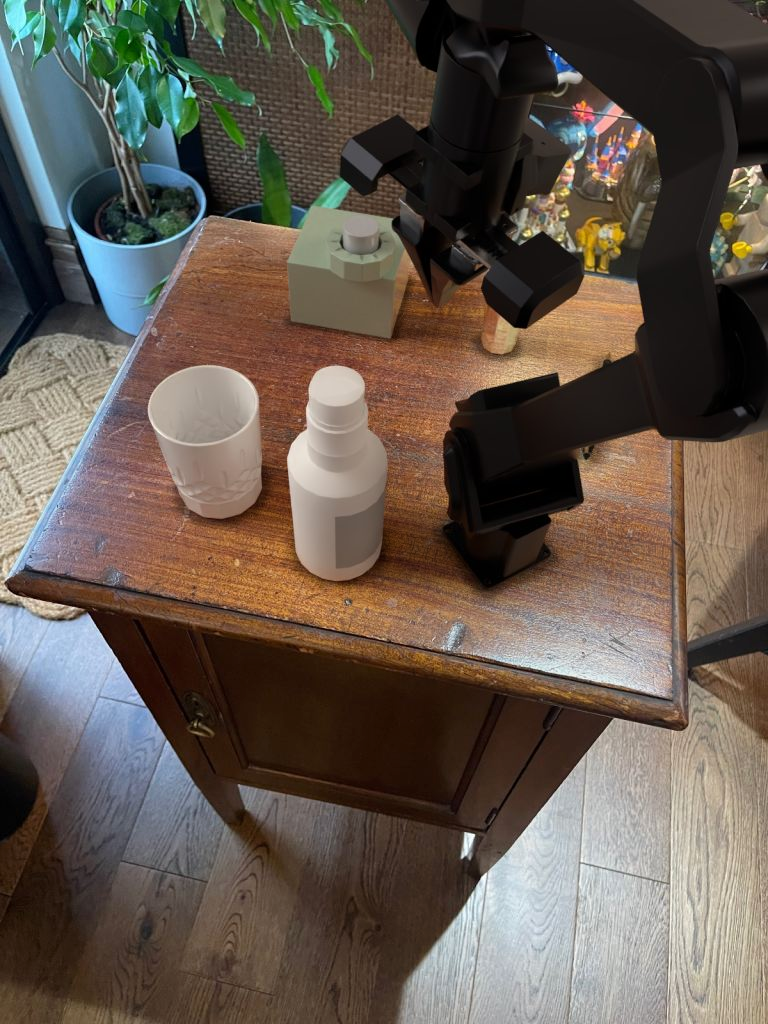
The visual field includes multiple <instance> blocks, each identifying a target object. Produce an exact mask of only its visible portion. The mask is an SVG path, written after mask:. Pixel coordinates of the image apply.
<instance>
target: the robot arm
mask: <svg viewBox="0 0 768 1024" xmlns="http://www.w3.org/2000/svg"><path fill="white" fill-rule="evenodd" d="M385 3H386V5H387V8H388V9H389V10H390V12H391V15H392V16H393V17H394V19H395V21H396V23H397V24H398V26H399V28H400V30H401V32H402V34H403V35H404V37H405V39H406V41H407V43H408V45H409V46H410V48H411V50H412V51H413V53H414V55H415V57H416V59H417V61H418V62H419V64H420V66H422V67H424V68H426V69H427V70H428V71H431V72H433V73H436V77H435V84H434V90H433V96H432V104H431V108H430V109H431V110H430V115H429V116H430V117H429V123H428V125H427V126H425V127H423V128H421V129H419V130H418V129H417V128H416V127H414V125H412V124H410V122H408V121H407V120H405V118H403V117H402V116H400V115H399V114H396V115H393V116H391V117H389V118H387V119H386V120H383V121H381V122H379V123H378V124H375V125H373V126H371V127H370V128H368V129H365V130H364V131H361V132H360V133H357V134H356V135H353V136H352V137H350V138H348V139H347V140H346V141H345V143H344V144H343V147H342V148H341V151H340V159H339V160H340V161H339V162H340V163H339V178H341V179H342V180H343V181H344V182H345V183H346V184H347V185H349V186H350V187H351V188H352V189H353V190H355V191H356V192H357V194H359V195H360V196H362V197H363V198H364V197H366V196H369V195H372V194H373V193H376V192H377V191H378V186H379V180H381V179H382V178H384V177H385V176H387V175H389V176H390V177H391V178H392V179H394V180H395V181H396V182H397V183H398V184H399V185H400V186H402V187H403V189H405V192H403V193H402V194H400V195H399V196H398V199H397V202H398V204H399V205H400V211H399V214H398V215H397V216H396V217H394V218H393V220H392V223H391V226H392V230H393V231H394V232H395V233H396V234H397V235H398V236H399V238H400V240H401V242H402V244H403V246H404V247H405V249H406V251H407V253H408V255H409V257H410V261H411V262H412V265H413V267H414V268H415V271H416V273H417V275H418V277H419V280H420V281H421V285H422V286H423V289H424V291H425V293H426V295H427V297H428V299H429V302H430V303H431V305H433V306H434V307H435V308H436V309H440V308H442V307H444V306H445V305H447V304H448V303H449V301H451V299H453V297H454V296H455V294H456V293H457V292H458V290H459V289H460V288H461V287H462V286H465V285H467V284H468V283H470V282H471V281H473V280H475V279H476V278H477V277H479V276H481V275H482V274H484V273H485V272H486V273H485V274H484V276H483V278H482V282H481V286H480V290H481V293H482V296H483V299H484V302H485V301H486V304H487V305H488V306H490V307H491V308H492V309H493V310H494V311H495V312H497V313H498V314H499V315H500V316H501V317H502V318H503V319H505V320H506V321H507V322H508V323H509V324H510V325H511V326H513V327H514V328H521V329H522V330H527V329H528V328H530V327H532V326H533V325H535V324H536V323H537V322H539V321H540V320H541V319H543V318H544V317H546V316H547V315H548V314H550V313H551V312H553V311H554V310H556V309H557V308H559V307H560V306H561V305H563V304H565V303H566V302H567V301H568V300H570V299H571V298H573V297H574V296H576V295H577V294H578V292H579V289H580V288H581V285H582V283H583V280H584V278H585V274H586V273H585V269H586V268H585V267H586V265H585V263H583V262H582V261H581V260H580V259H579V258H577V257H576V256H575V255H574V254H572V252H570V251H569V250H567V248H566V247H564V246H562V245H561V244H560V243H559V242H557V241H556V240H555V239H554V238H552V236H550V235H549V234H547V233H546V232H545V231H544V230H541V231H539V232H538V233H536V234H535V235H533V236H531V237H530V238H528V239H527V240H525V241H524V242H522V243H520V244H518V243H517V242H516V241H515V240H514V239H513V237H514V235H515V234H517V233H518V231H519V226H518V224H517V223H515V222H514V221H513V220H511V218H509V217H508V216H510V217H512V216H514V215H515V214H517V213H518V212H520V211H522V210H524V206H525V204H526V203H525V202H526V200H527V197H530V196H536V195H537V196H538V195H543V196H548V195H550V194H551V192H552V190H553V189H554V187H555V184H556V183H557V181H558V179H559V177H560V175H561V173H562V171H563V169H564V168H565V165H566V164H567V162H568V160H569V159H570V158H569V157H570V156H571V154H572V150H571V148H570V147H569V146H568V145H567V144H566V143H565V142H564V141H562V140H561V139H559V138H558V137H557V136H555V135H554V133H551V132H550V131H549V130H547V129H546V128H544V127H543V126H542V125H541V124H539V123H538V122H537V121H535V120H533V119H532V118H530V117H529V114H530V110H531V106H532V103H533V100H534V95H540V94H549V93H553V92H555V91H557V89H558V87H559V83H560V82H559V77H558V70H557V69H558V68H557V65H556V63H555V61H554V60H553V58H551V56H550V54H549V52H548V48H549V49H551V50H552V51H553V52H554V53H555V54H556V55H558V56H559V57H560V58H561V59H562V60H563V61H565V62H566V63H567V64H568V65H569V66H570V67H571V68H573V69H574V70H575V71H576V72H577V73H579V74H580V75H581V76H582V77H583V78H584V79H586V80H587V81H588V82H589V83H590V84H591V85H593V86H594V87H595V88H596V89H597V90H599V92H601V93H602V94H603V95H604V96H605V97H607V98H608V99H609V100H610V101H611V102H612V103H614V104H615V105H616V106H617V107H618V108H620V109H621V111H623V112H624V113H626V114H627V115H628V116H629V117H630V118H631V119H633V120H634V121H635V122H636V123H637V124H638V125H639V126H640V127H642V128H643V129H644V130H645V131H646V132H647V133H649V134H650V135H651V136H653V141H654V146H655V152H656V159H657V165H658V170H659V171H658V172H659V177H660V189H659V192H658V195H657V198H656V202H655V204H654V205H655V206H654V209H653V211H652V216H651V219H650V222H649V226H648V228H647V233H646V236H645V239H644V243H643V245H642V246H643V247H642V249H641V252H640V257H639V259H638V263H637V266H636V283H637V288H638V289H637V290H638V296H639V300H640V307H641V311H642V318H643V322H642V323H641V324H640V325H639V326H638V328H637V329H636V331H635V333H634V351H632V352H630V353H629V354H626V355H625V356H623V357H620V358H618V359H616V360H613V361H611V363H609V364H607V365H605V366H603V367H602V366H600V367H598V368H596V369H594V370H592V371H590V372H587V373H585V374H583V375H580V376H579V377H576V378H574V379H572V380H570V381H568V382H566V383H563V384H561V381H560V375H559V372H557V371H556V372H551V373H547V374H544V375H540V376H539V375H538V376H535V377H530V378H526V379H521V380H518V381H513V382H509V383H505V384H501V385H496V386H491V387H488V388H483V389H479V390H477V391H475V392H473V393H472V394H470V395H469V397H468V398H465V399H464V398H463V399H460V400H456V401H455V402H454V406H455V408H456V410H457V411H456V412H454V413H453V414H452V416H451V417H450V420H449V423H448V427H449V428H450V429H448V430H447V431H446V432H445V433H444V436H443V437H444V438H443V439H442V450H443V451H442V460H443V483H444V488H445V493H446V494H447V496H448V502H447V503H448V504H447V509H446V515H447V516H448V519H449V521H450V522H449V523H447V524H445V525H443V526H442V530H441V534H442V536H443V537H444V538H445V540H446V541H447V542H448V544H449V545H450V547H451V548H452V550H454V552H455V553H456V555H457V556H458V558H459V559H460V560H461V561H462V563H463V564H464V565H465V567H466V568H467V569H468V571H469V573H470V574H471V575H472V576H473V577H474V579H475V580H476V582H477V583H478V585H479V586H480V587H481V588H482V589H483V590H485V591H491V590H493V589H495V588H498V587H500V586H501V585H503V584H504V583H506V582H508V581H511V580H512V579H514V578H516V577H518V576H520V575H522V574H523V573H526V572H528V571H530V570H532V569H534V568H535V567H538V566H539V565H541V564H543V563H545V562H546V561H547V562H548V561H549V560H550V558H551V556H552V551H551V549H550V548H549V546H548V545H546V543H545V540H546V539H545V538H546V536H547V534H548V531H549V529H550V526H551V525H552V520H553V519H552V517H550V516H551V515H554V514H558V513H562V512H565V511H567V512H570V511H573V510H576V509H577V508H578V507H580V506H582V505H583V504H584V503H585V496H584V490H583V484H582V478H581V471H580V465H579V458H580V457H581V454H582V453H581V449H583V448H584V447H588V446H592V445H595V446H596V445H598V444H602V443H606V442H610V441H614V440H618V439H622V438H625V437H629V436H633V435H638V434H641V433H645V432H648V431H652V430H654V431H655V430H656V432H657V434H658V435H659V436H660V437H662V438H663V439H665V440H667V441H678V442H679V441H682V442H695V443H696V442H698V443H724V442H729V441H731V440H735V439H739V438H740V439H741V438H743V437H747V436H750V435H754V434H758V433H762V432H765V431H768V268H765V269H759V270H755V271H750V272H745V273H740V274H736V275H730V276H725V277H721V278H717V279H715V275H714V269H713V261H712V256H711V248H712V244H713V242H714V238H715V235H716V232H717V228H718V225H719V221H720V218H721V215H722V211H723V207H724V204H725V201H726V198H727V194H728V191H729V189H730V184H731V181H732V178H733V173H734V170H739V169H743V168H749V167H755V166H759V167H760V169H761V172H762V174H763V176H764V178H765V180H766V181H767V182H768V23H767V22H765V21H764V20H761V19H760V18H758V17H756V16H754V15H753V14H752V13H750V12H748V11H746V10H745V9H743V8H742V7H740V6H738V5H736V4H735V3H733V2H732V1H730V0H385ZM547 47H548V48H547ZM505 213H506V214H507V215H508V216H506V215H505ZM488 270H489V271H488ZM487 271H488V272H487ZM521 329H520V330H521ZM543 553H544V554H543ZM486 583H488V584H486Z"/></svg>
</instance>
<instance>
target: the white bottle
mask: <svg viewBox="0 0 768 1024" xmlns="http://www.w3.org/2000/svg"><path fill="white" fill-rule="evenodd" d="M309 382H310V383H309V385H308V402H307V405H306V407H305V414H306V416H305V417H306V418H305V419H306V429H304V430H303V431H302V432H301V433H299V434H298V436H297V437H296V438H295V439H294V441H293V442H292V443H291V445H290V448H289V451H288V454H287V456H286V461H287V462H286V463H287V472H288V484H289V494H290V495H289V496H290V505H291V515H292V525H293V537H294V547H295V554H296V556H297V558H298V560H299V562H300V563H301V565H302V566H303V567H304V568H305V569H307V570H308V572H310V573H311V574H313V575H315V576H317V577H319V578H320V579H322V580H329V581H333V582H334V581H335V582H340V581H351V580H353V579H355V578H358V577H360V576H362V575H363V574H365V573H367V572H368V571H369V570H370V569H371V568H372V567H373V566H374V565H375V563H376V562H377V560H379V557H380V556H381V555H380V554H381V550H382V546H383V533H384V520H385V507H386V493H387V480H388V468H389V467H388V466H389V460H388V455H387V450H386V447H385V445H384V444H383V442H382V441H381V439H380V438H379V436H377V435H376V434H375V433H374V432H373V431H372V430H370V429H369V428H368V426H369V408H368V404H367V402H366V399H365V394H366V384H365V380H364V378H363V377H362V375H361V374H360V373H358V372H357V371H356V370H355V369H354V368H350V367H348V366H343V365H329V366H326V367H322V368H320V369H318V370H317V371H316V372H315V373H314V375H313V376H312V379H311V380H310V381H309Z"/></svg>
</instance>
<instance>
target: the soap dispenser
mask: <svg viewBox="0 0 768 1024" xmlns="http://www.w3.org/2000/svg"><path fill="white" fill-rule="evenodd" d="M354 215H366V216H370V217H372V218H374V219H375V220H376V221H377V222H378V224H379V246H378V249H377V251H375V252H374V253H372V254H367V255H356V254H351V253H349V252H347V251H346V250H345V249H344V247H343V223H344V221H345V220H346V219H347V218H349V217H351V216H354ZM393 219H394V218H392V217H391V218H390V217H386V216H381V215H380V216H379V215H373V214H368V213H361V212H355V211H349V210H343V209H338V208H330V207H325V206H319V205H314V204H313V205H311V207H310V208H309V211H308V213H307V216H306V218H305V220H304V222H303V224H302V227H301V229H300V232H299V234H298V236H297V238H296V241H295V243H294V244H293V248H292V249H291V252H290V254H289V256H288V258H287V261H286V268H287V281H288V295H289V296H288V297H289V311H290V321H291V322H293V323H298V324H305V325H309V326H316V327H321V328H326V329H331V330H332V329H333V330H338V331H344V332H350V333H356V334H362V335H366V336H372V337H378V338H385V339H389V340H390V339H392V337H393V332H394V329H395V326H396V323H397V319H398V316H399V312H400V309H401V305H402V302H403V299H404V295H405V291H406V288H407V284H408V282H409V271H410V261H411V259H410V257H409V255H408V253H407V251H406V249H405V247H404V246H403V244H402V242H401V240H400V238H399V236H398V235H397V234H396V233H395V232H394V231H393V230H392V226H391V223H392V220H393Z"/></svg>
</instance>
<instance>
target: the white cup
mask: <svg viewBox="0 0 768 1024" xmlns="http://www.w3.org/2000/svg"><path fill="white" fill-rule="evenodd" d="M147 414H148V415H147V416H148V419H149V422H150V424H151V427H152V429H153V432H154V435H155V437H156V440H157V443H158V445H159V448H160V451H161V453H162V456H163V458H164V461H165V463H166V466H167V468H168V471H169V473H170V476H171V478H172V480H173V482H174V484H175V486H176V488H177V491H178V494H179V496H180V498H181V499H182V501H183V502H184V504H185V506H186V507H187V510H190V511H192V512H194V513H195V514H197V515H199V516H200V517H202V518H207V519H208V518H209V519H219V520H224V519H228V518H231V517H234V516H238V515H241V514H242V513H244V512H245V511H246V510H248V509H249V508H250V507H252V506H253V505H254V504H255V503H256V502H257V499H258V498H259V496H260V494H261V493H262V490H263V481H262V464H263V447H262V445H263V444H262V442H263V441H262V439H263V437H262V427H261V426H262V425H261V409H260V397H259V394H258V391H257V388H256V386H255V385H254V384H253V382H252V381H251V380H250V379H249V378H248V377H247V376H246V375H244V374H242V373H240V372H239V371H237V370H234V369H232V368H229V367H226V366H221V365H212V364H210V365H209V364H203V365H202V364H201V365H195V366H190V367H186V368H184V369H181V370H178V371H176V372H174V373H172V374H171V375H169V376H167V377H166V378H164V379H163V380H162V381H161V382H160V383H159V384H158V385H157V386H156V387H155V388H154V390H153V391H152V393H151V395H150V398H149V400H148V405H147Z"/></svg>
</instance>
